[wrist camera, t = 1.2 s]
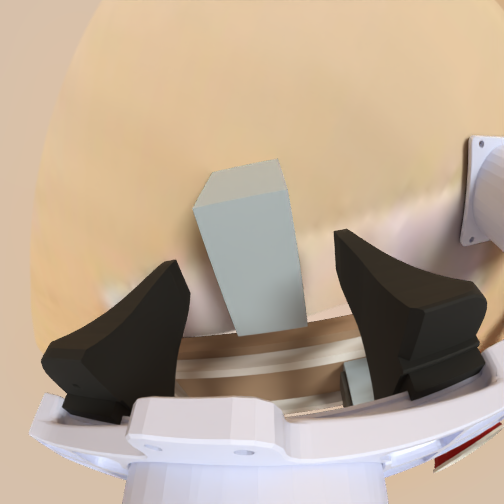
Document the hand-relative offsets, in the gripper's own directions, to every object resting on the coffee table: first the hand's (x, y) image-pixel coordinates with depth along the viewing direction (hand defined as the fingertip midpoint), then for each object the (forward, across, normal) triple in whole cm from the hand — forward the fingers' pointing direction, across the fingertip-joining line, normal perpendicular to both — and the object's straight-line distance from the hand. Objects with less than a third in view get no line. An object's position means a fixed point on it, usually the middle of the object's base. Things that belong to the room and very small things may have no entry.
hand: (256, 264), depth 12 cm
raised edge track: (+4, -1, +14) cm, 15 cm away
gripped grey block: (+4, 0, 0) cm, 4 cm away
